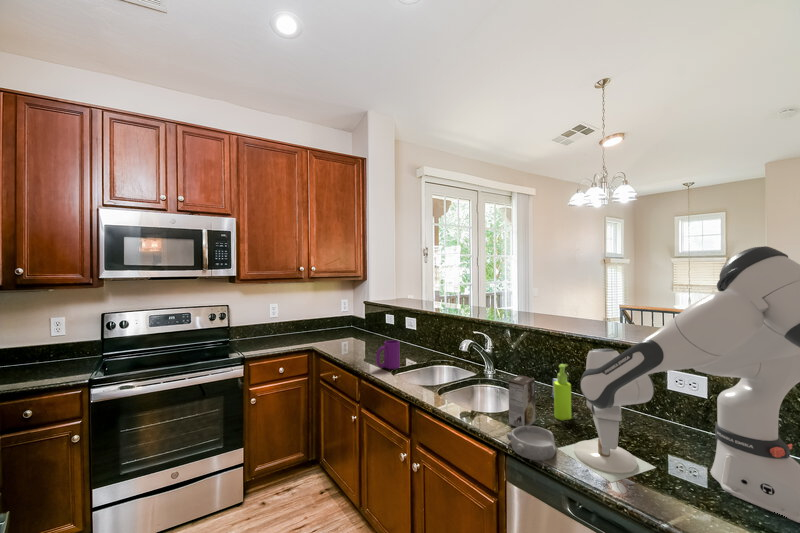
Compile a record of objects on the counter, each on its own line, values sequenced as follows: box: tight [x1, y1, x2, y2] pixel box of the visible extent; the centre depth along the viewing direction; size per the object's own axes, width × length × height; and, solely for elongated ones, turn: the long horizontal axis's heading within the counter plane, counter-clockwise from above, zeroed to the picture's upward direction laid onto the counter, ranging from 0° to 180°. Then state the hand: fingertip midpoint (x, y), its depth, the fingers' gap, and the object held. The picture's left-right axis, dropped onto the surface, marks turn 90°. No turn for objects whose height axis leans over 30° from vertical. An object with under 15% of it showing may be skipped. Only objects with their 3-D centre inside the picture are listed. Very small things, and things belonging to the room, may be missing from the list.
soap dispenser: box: [553, 363, 572, 421], centre depth 127 cm, size 6×7×20 cm
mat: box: [556, 437, 657, 483], centre depth 99 cm, size 18×18×1 cm
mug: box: [375, 339, 401, 370], centre depth 193 cm, size 9×16×15 cm, turn 129°
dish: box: [506, 425, 557, 461], centre depth 104 cm, size 14×14×5 cm
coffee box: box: [507, 374, 536, 428], centre depth 123 cm, size 9×6×16 cm
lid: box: [574, 439, 637, 474], centre depth 99 cm, size 16×16×5 cm
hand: (604, 449), depth 99 cm, fingers open, 4 cm apart
